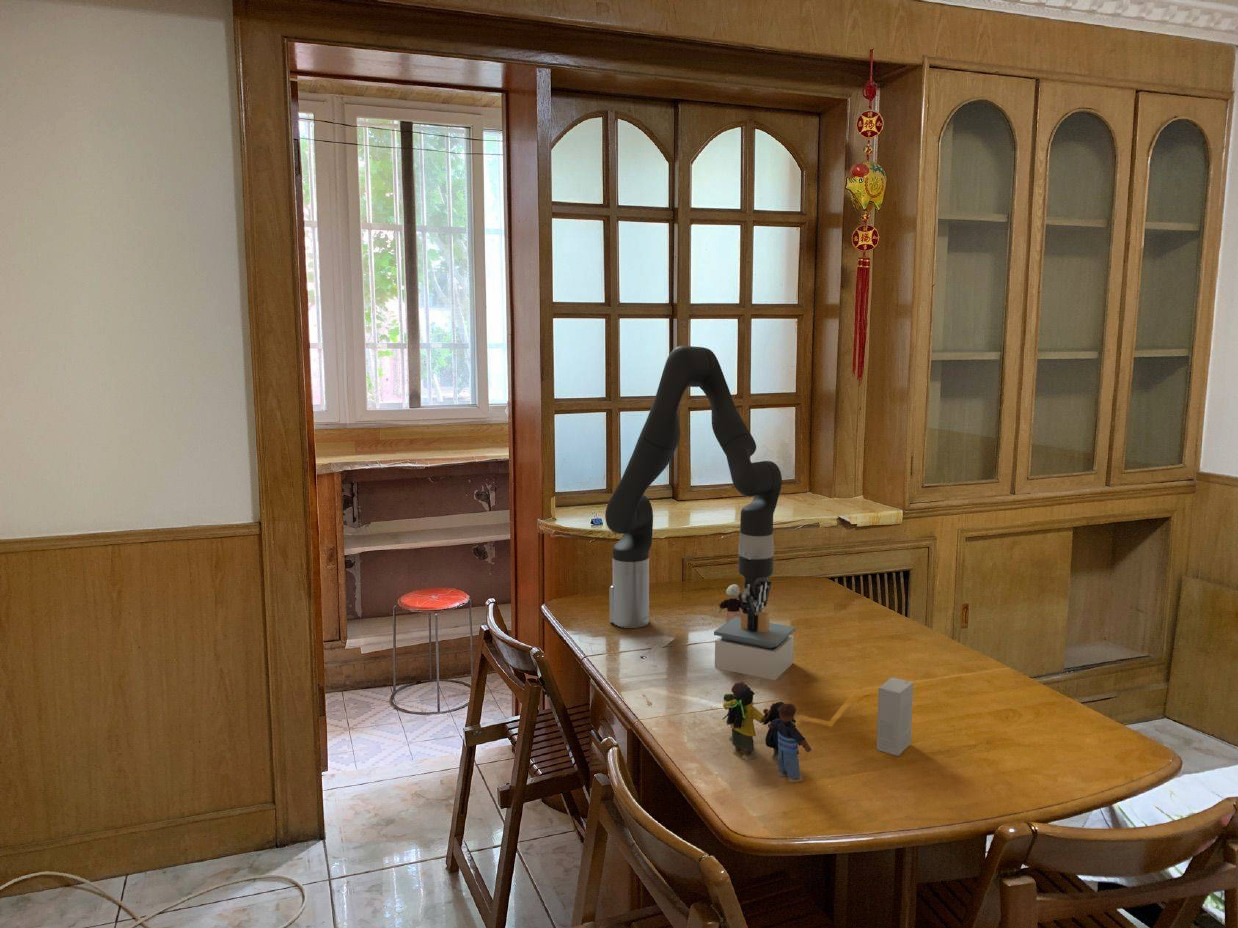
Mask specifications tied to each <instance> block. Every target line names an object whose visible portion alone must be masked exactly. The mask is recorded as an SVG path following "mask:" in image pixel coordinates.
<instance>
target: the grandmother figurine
mask: <svg viewBox="0 0 1238 928" xmlns="http://www.w3.org/2000/svg"><path fill="white" fill-rule="evenodd" d="M740 590H741V588H740V586H739V585H738V584H735V583H734V584H731V585H729V586H728V587H727V588H726V593H725V594H727V596H728V597H729V598H727V599H724V600H723V601H721V602H720V604H718V609H717V610H716V612H717V613H718V614H721V612H722V610H723V609H726V612H725V623H727V622H728V621H730V620H731V619H732V618H734V617H741V610H742V608H741V605H740V601H739V597H738V596H739V593H741V591H740Z"/></svg>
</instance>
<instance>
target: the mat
mask: <svg viewBox="0 0 1238 928" xmlns="http://www.w3.org/2000/svg"><path fill="white" fill-rule="evenodd" d="M675 639H676V638H675V637H670V636H669V637H667V638H665V639H664V640H662V641H661V642H659V643H658V644H656V645H655V646H653V647H651V648H650V649H648V650H647V651H645V652H644V653H642V654H641V655H640V658H641V657H645V659H646V658H648V657H649V656H651V655H652V654H654V653H656V652H658V650H660V649H661V648H663V647H664V646H666V645H667V644H669V643H670V642H672V641H674V640H675Z"/></svg>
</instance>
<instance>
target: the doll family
mask: <svg viewBox="0 0 1238 928" xmlns="http://www.w3.org/2000/svg"><path fill="white" fill-rule="evenodd" d="M755 694H756V693H755V692H754V690H752V689H751V687H750V686H749V685H748V684H747V683H745V682H736V683H734V684H733V686H732V687H731V693H726V694H724V695H723V700H724V702H723V704H722V707H723V709H724V710H728V712H727V714H726V715H725V716H724V717H722V719H721V720H722V721H723V720H725V719H726V725H727V726H728V725H730V728H731V735H730V736H729V737H728V740H729V741H731V742H732V745H733V747H735V748H734V750H733V751H732V754H733V755H735V756H741V755H742V759H743V760H747V761H748V760H751V759H754V758H756V757H757V755H756V753H755V748H754V743H755V741H754V738H756V737H757V734H756V730H755V724H754V720H755V721H757V722H758V723H759V724H762V726H765V725H767V728H768V731H767V733H766V735H765V740H764V741H765V742H764V743H765V745H766V747H768V748H771V749H773V753H772V756H771V758H772V759H773V760H777V765H778V772H777V775H778V776H780V777H783V778H784V777H787V781H788V782H789V783H793V784H794V783H799V782H802V781H803V780H804V778H803V777H804V776H803V775H801V773H800V760H799V754H800V750H799V746H802V748H803V749H804V750H805V752H807V753H811V751H812V747H811V746H810V745H809V743H808V741H807V740H806V737H804V735H803V734H802V733H801V732H800V730H799V729H797V725H796V723H797V720H796V719H800V718H801V716H799V715H798V716H795V714H796V712H797V707H796V706H795V705H794V704H793V703H785V702H783V701H777V702H773V703H772V704H771V705H770V708H769V709H768V708H764V709H763V711H762V712H763V713H762V712H761V711H759V709H757V708H756V707H755V706H754V703H755V702H754V696H755ZM795 718H796V719H795Z"/></svg>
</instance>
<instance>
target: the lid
mask: <svg viewBox="0 0 1238 928" xmlns="http://www.w3.org/2000/svg"><path fill="white" fill-rule="evenodd" d="M740 612H741V617H734V618H732V619H731V620H730V621H728V622H727V623H726V622H725V623H724V624H722V625H721V626H720V627H718V628H716V629H715V630H714V631H713V635H714V636H718V637H721V636H722V639H727V640H732V641H737V642H742V643H747V644H752V645H758V646H763V647H768V648H773V647H777V646H778V645H779V644H780V643H781V642H782V641H784V640H785V639H786V638H787V637H788V636H792V634H793V633H794V632H796V627H795V626H790V625H785V624H778V623H773V622H770V612H764V611H763V612H760V611H758V630H757V631H756V632H754V631H749V630H748V629H747V622H748V614H744V613H743V611H742V609H740Z"/></svg>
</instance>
